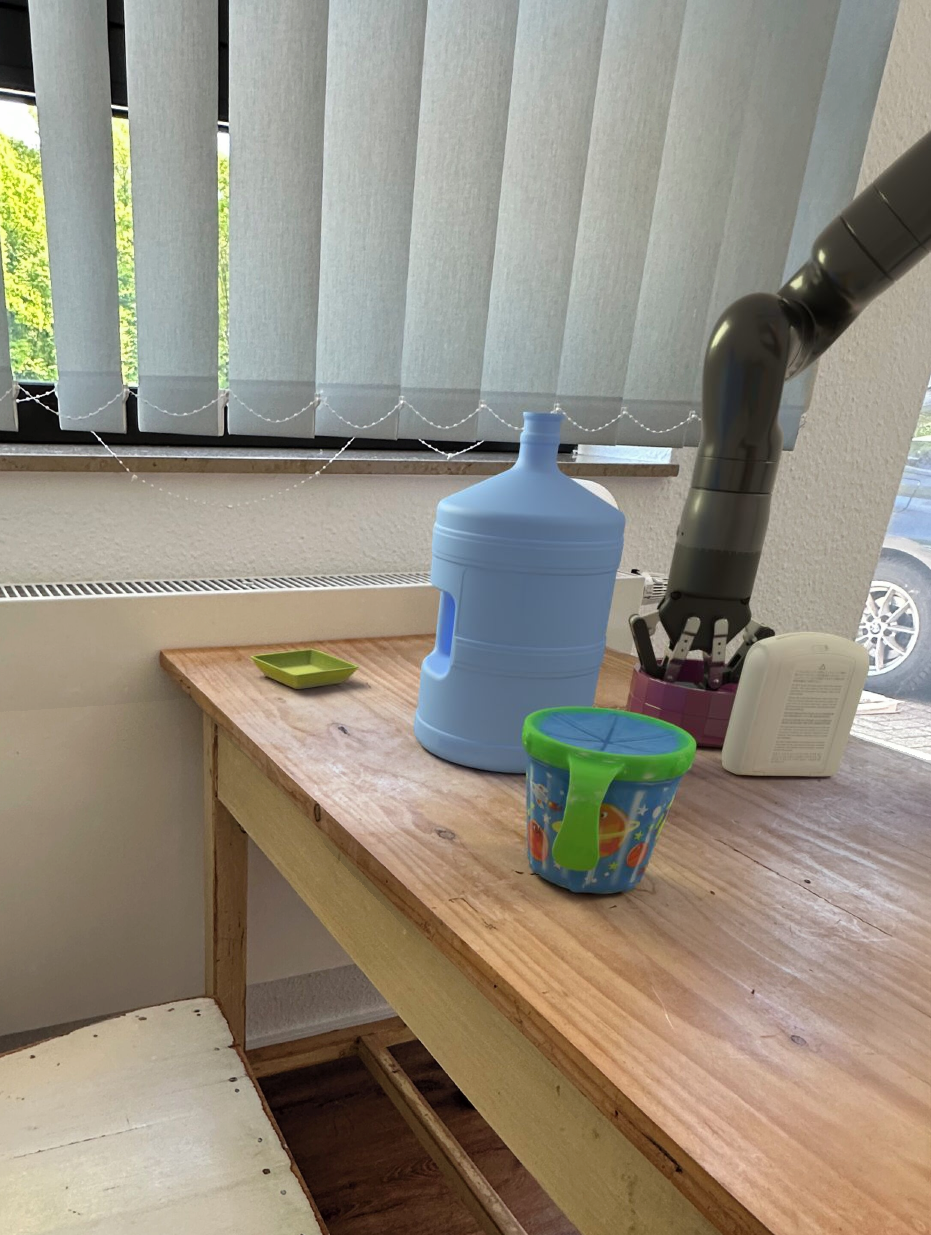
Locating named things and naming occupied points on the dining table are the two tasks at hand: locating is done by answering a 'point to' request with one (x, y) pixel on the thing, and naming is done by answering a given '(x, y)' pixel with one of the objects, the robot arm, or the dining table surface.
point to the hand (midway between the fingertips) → (680, 719)
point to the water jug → (516, 604)
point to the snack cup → (599, 793)
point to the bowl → (684, 702)
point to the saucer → (304, 668)
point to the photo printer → (795, 705)
